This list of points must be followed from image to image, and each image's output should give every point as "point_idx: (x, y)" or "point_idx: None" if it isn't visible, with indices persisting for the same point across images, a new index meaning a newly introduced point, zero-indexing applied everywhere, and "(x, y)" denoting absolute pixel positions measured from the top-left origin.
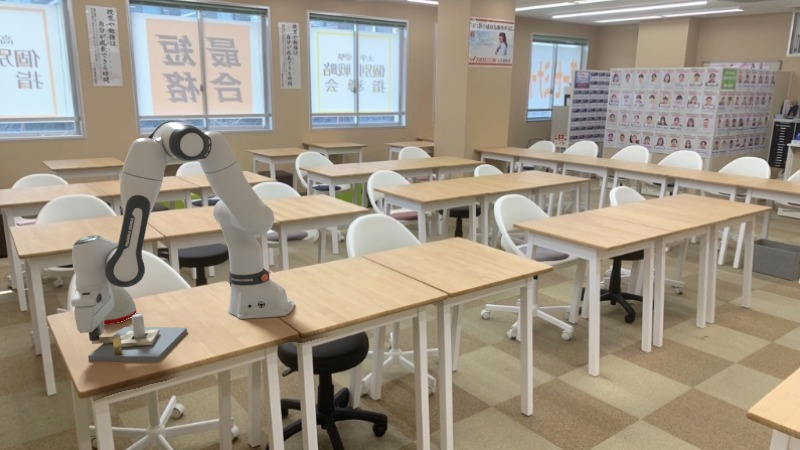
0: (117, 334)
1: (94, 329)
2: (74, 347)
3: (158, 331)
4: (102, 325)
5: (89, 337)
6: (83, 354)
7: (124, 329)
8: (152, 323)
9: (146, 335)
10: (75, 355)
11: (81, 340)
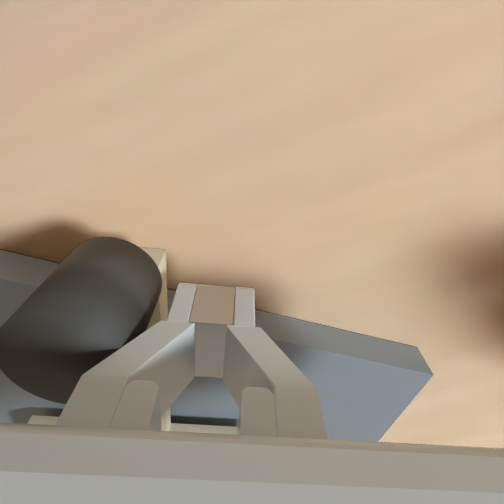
0: (294, 360)
1: (69, 372)
2: (204, 13)
3: None
4: (237, 401)
5: (62, 262)
6: (31, 159)
7: (376, 382)
8: (463, 443)
9: None
10: (4, 88)
11: (381, 43)
